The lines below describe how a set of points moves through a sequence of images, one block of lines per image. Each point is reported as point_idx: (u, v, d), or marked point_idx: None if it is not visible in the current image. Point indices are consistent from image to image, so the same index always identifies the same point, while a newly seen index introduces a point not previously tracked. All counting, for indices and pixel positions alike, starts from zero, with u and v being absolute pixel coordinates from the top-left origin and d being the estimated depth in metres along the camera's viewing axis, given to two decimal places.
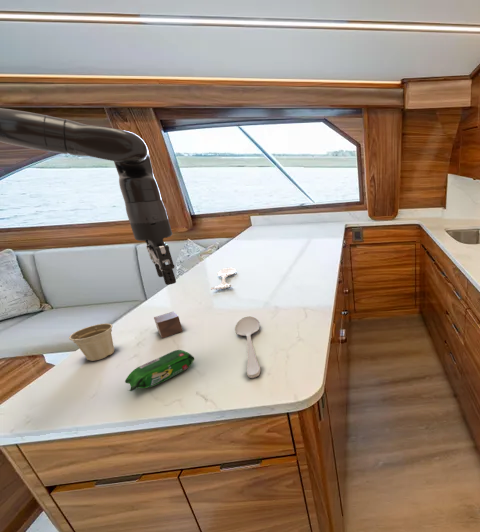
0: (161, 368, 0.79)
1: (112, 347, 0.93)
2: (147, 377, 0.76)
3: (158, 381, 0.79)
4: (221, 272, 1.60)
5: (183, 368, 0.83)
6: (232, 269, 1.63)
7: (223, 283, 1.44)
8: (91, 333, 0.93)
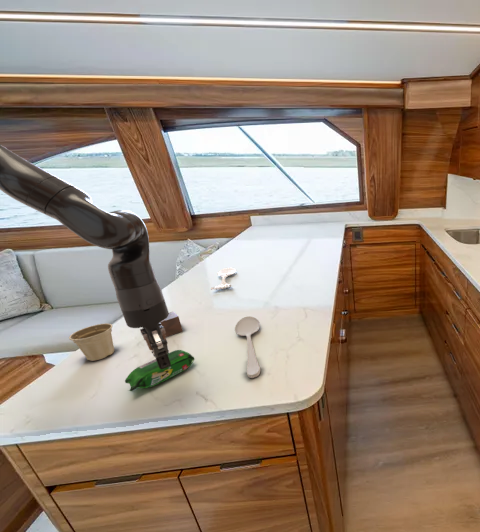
0: None
1: (112, 347, 0.93)
2: (147, 377, 0.76)
3: (158, 381, 0.79)
4: (221, 272, 1.60)
5: (183, 368, 0.83)
6: (232, 269, 1.63)
7: (223, 283, 1.44)
8: (91, 333, 0.93)
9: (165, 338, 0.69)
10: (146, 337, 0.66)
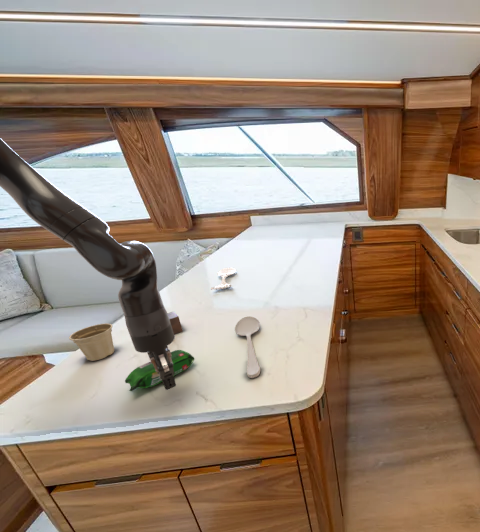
0: None
1: (112, 347, 0.93)
2: (147, 377, 0.76)
3: (158, 381, 0.79)
4: (221, 272, 1.60)
5: (183, 368, 0.83)
6: (232, 269, 1.63)
7: (223, 283, 1.44)
8: (91, 333, 0.93)
9: (171, 360, 0.72)
10: (153, 360, 0.70)
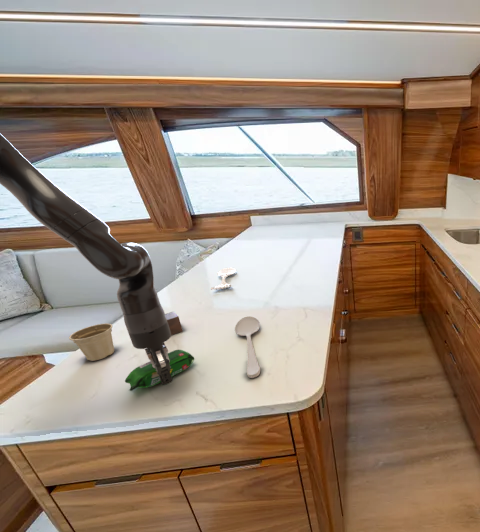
0: None
1: (112, 347, 0.93)
2: (146, 376, 0.76)
3: (158, 381, 0.79)
4: (221, 272, 1.60)
5: (183, 368, 0.84)
6: (232, 269, 1.63)
7: (223, 283, 1.44)
8: (91, 333, 0.93)
9: (167, 357, 0.76)
10: (150, 356, 0.73)
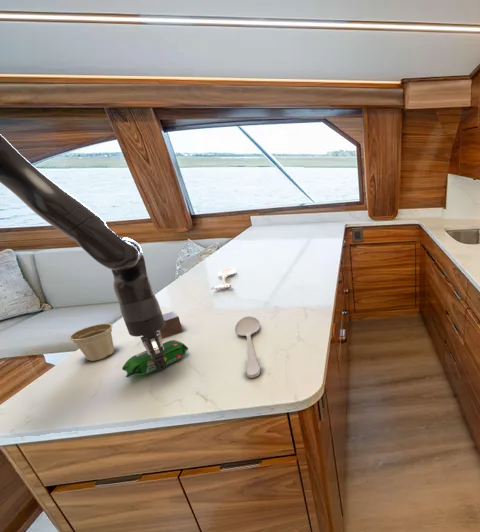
0: None
1: (112, 347, 0.93)
2: (142, 364, 0.81)
3: (153, 369, 0.84)
4: (221, 272, 1.60)
5: (177, 357, 0.88)
6: (232, 269, 1.63)
7: (223, 283, 1.44)
8: (91, 333, 0.93)
9: (162, 344, 0.81)
10: (145, 344, 0.78)
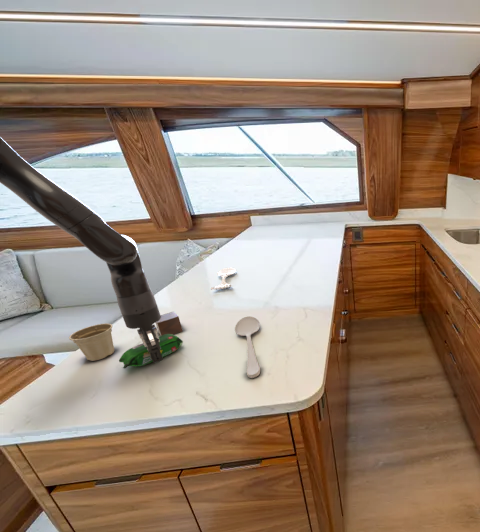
0: None
1: (112, 347, 0.93)
2: (138, 356, 0.85)
3: (149, 360, 0.87)
4: (221, 272, 1.60)
5: (172, 350, 0.92)
6: (232, 269, 1.63)
7: (223, 283, 1.44)
8: (91, 333, 0.93)
9: (157, 337, 0.84)
10: (142, 336, 0.81)
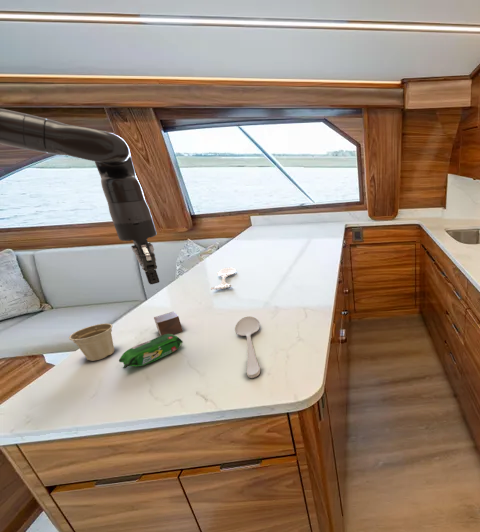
0: (151, 349, 0.87)
1: (112, 347, 0.93)
2: (138, 356, 0.85)
3: (149, 360, 0.87)
4: (221, 272, 1.60)
5: (172, 350, 0.92)
6: (232, 269, 1.63)
7: (223, 283, 1.44)
8: (91, 333, 0.93)
9: None
10: (136, 251, 0.75)
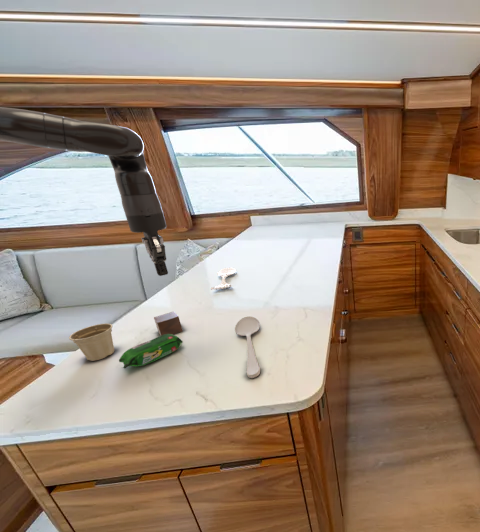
0: (151, 349, 0.87)
1: (112, 347, 0.93)
2: (138, 356, 0.85)
3: (149, 360, 0.87)
4: (221, 272, 1.60)
5: (172, 350, 0.92)
6: (232, 269, 1.63)
7: (223, 283, 1.44)
8: (91, 333, 0.93)
9: None
10: (147, 243, 0.77)
